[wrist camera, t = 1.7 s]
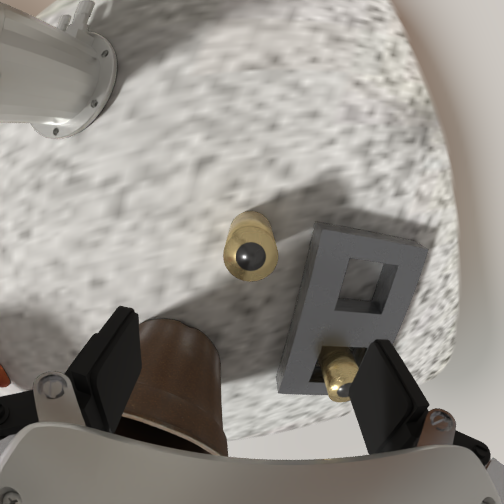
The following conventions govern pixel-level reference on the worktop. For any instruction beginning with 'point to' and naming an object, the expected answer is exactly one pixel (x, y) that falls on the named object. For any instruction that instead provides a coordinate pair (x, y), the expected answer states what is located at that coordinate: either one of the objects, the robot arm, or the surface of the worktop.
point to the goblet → (3, 378)
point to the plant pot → (176, 391)
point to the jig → (345, 309)
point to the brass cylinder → (250, 247)
